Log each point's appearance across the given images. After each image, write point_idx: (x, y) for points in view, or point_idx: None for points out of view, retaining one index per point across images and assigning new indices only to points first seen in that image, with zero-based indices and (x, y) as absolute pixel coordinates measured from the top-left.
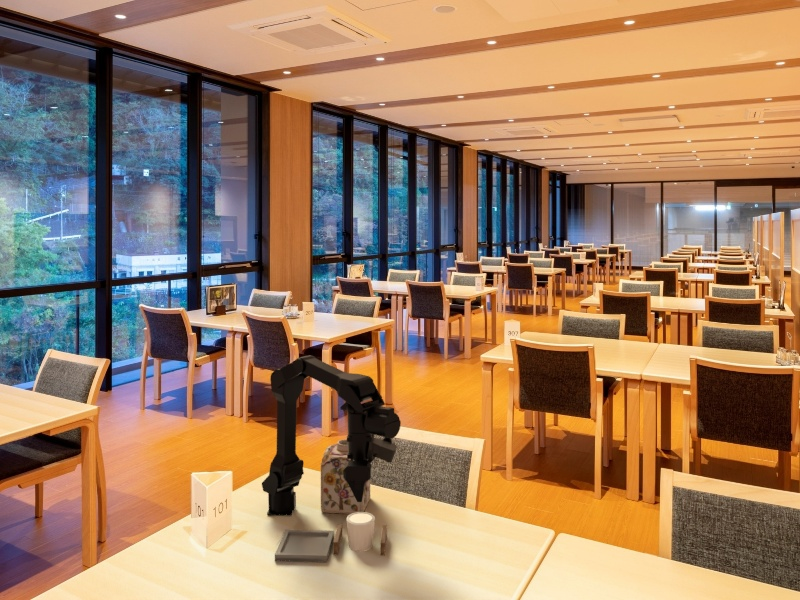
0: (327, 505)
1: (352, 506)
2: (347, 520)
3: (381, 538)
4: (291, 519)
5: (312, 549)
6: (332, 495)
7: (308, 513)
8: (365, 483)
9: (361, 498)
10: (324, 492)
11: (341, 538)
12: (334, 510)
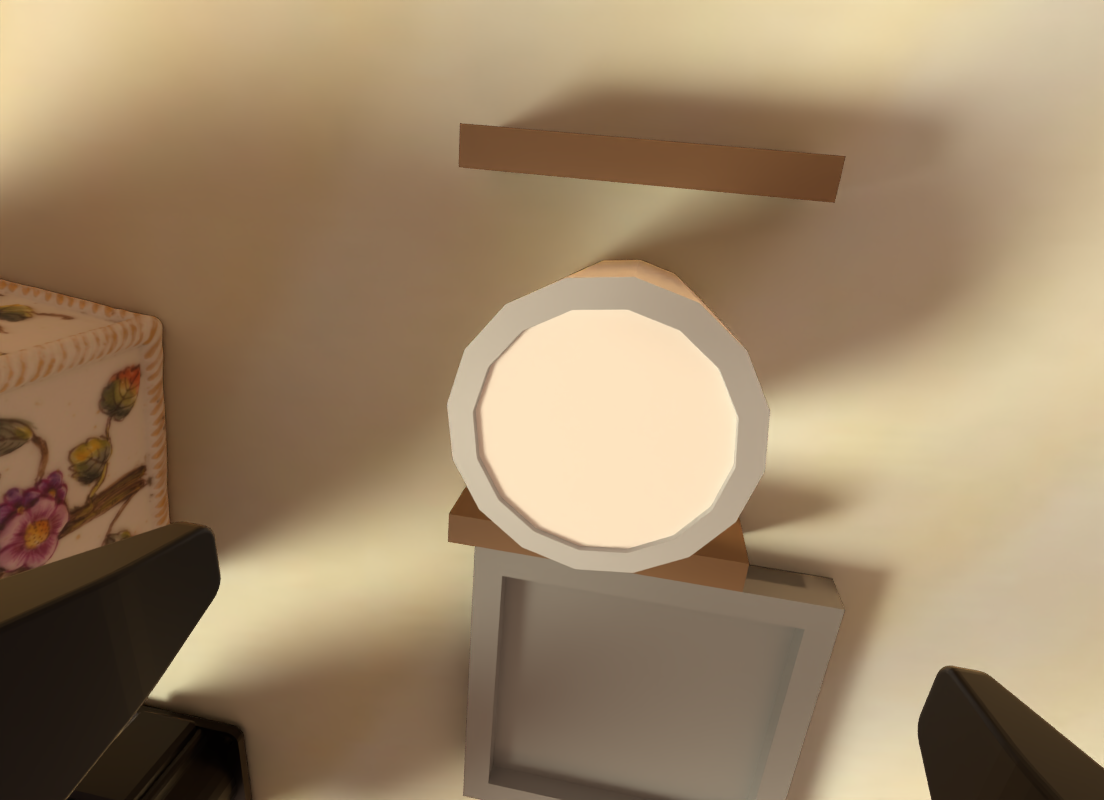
0: None
1: (118, 412)
2: (644, 566)
3: (737, 187)
4: (281, 723)
5: (691, 665)
6: None
7: (197, 641)
8: (169, 550)
9: (1056, 751)
10: None
11: None
12: (155, 513)
